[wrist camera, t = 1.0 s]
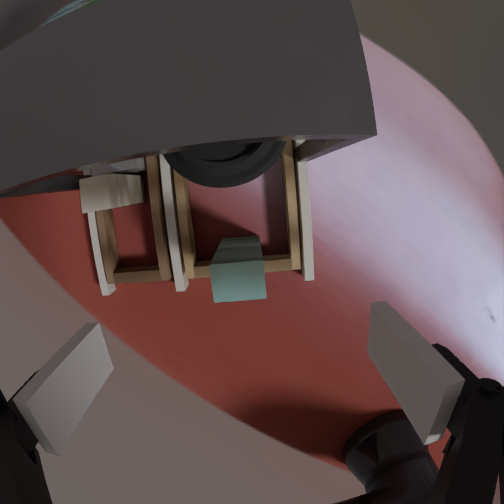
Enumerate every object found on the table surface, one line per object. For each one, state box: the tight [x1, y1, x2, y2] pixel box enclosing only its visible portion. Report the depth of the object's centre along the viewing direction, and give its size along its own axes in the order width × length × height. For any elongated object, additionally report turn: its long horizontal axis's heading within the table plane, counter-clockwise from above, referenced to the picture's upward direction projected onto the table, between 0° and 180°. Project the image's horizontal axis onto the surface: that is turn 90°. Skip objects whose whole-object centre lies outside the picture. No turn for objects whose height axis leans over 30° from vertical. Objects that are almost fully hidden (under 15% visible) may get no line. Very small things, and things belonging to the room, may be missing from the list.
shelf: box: [0, 0, 377, 198], centre depth 21 cm, size 10×24×20 cm, turn 95°
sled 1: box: [79, 155, 174, 284], centre depth 27 cm, size 20×8×9 cm, turn 5°
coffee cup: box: [163, 141, 287, 188], centre depth 23 cm, size 9×9×15 cm
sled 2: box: [173, 140, 301, 303], centre depth 26 cm, size 20×12×11 cm, turn 5°
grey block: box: [91, 157, 147, 177], centre depth 28 cm, size 5×5×5 cm
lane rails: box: [83, 140, 314, 295], centre depth 31 cm, size 23×24×2 cm
